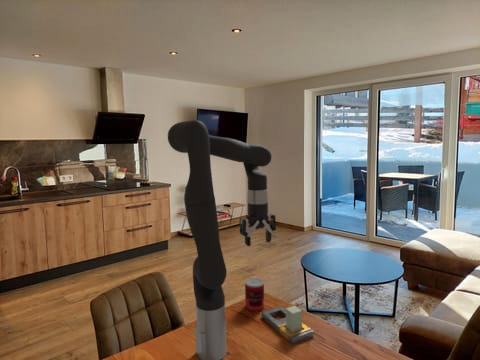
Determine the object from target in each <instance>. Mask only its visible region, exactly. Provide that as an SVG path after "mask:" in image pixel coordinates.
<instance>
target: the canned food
mask: <svg viewBox="0 0 480 360" xmlns="http://www.w3.org/2000/svg"><path fill="white" fill-rule="evenodd" d="M244 290H245V291H244V292H245V293H244V295H245V307H246V309H247V310H248V311H250V312H253V313H254V312H261V311H263V310H264V307H265V282H264V280H263V279H261V278H258V277H252V278H248V279H246V280H245V281H244Z"/></svg>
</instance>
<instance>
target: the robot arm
mask: <svg viewBox="0 0 480 360" xmlns="http://www.w3.org/2000/svg"><path fill="white" fill-rule="evenodd" d="M167 142H168V144H169V145H170V147H171V148H172V149H173V150H174V151H176V152H178V153H180V154H181V153H183V154H187V156H188V164H189V175H188V176H189V177H188V180H187V183H186V186H185V190H184V197H183V202H184V208H185V213H186V214H185V215H186V220H187V223H188V225H189V230H190V232H191V235H192V238H193V240H194V243H195V247H196V251H197V257H196V258H195V259H194V261H193V265H192V280H193V281H192V282H193V283H192V284H193V293H194V298H195V308H196V309H195V310H196V311H195V312H196V325H195V326H194V331H195V333H194V334H195V353H196V355H197V356H198V358H199V360H222V359H224V358H225V357H226V355H227V328H226V327H227V325H226V299H225V298H226V297H225V293H224V289H223V286H222V285H223V284H224V283H225V280H226V278H227V267H226V263H225V259H224V255H223V252H222V247H221V242H220V241H221V240H220V239H221V238H220V230H219V229H220V228H219V222H218V221H219V220H218V212H217V211H218V210H217V204H216V197H215V192H214V184H213V177H212V168H211V167H212V165H211V156H214V157H217V158H222V159H224V160H229V161H233V162H238V163H242V164H243V167H244V170H245V174H246V177H247V194H246V195H247V199H246V201H247V218H241V217H240V219H239V234H240V235H241V236H244V244H245V245H246V246H247V247H251V246H252V245H251V244H252V241H251V240H252V239H251V238H252V237H251V235H252V233H253V232H255V230H259V229H264V230H265V242H266V243H268V244H269V243H271V241H272V232H273V231H276V230H277V223H276V220H277V219H276V215H275V214H272V213H270V214H269V195H268V178H267V174H266V173H264V172H262V171H260V169H259V167H260V168H261V167H263V168H264V167H266V166H268V165H269V164H270V163H271V162H272V153H271V151H270V150H269V148H267V147H265V146H262V145H257V144H253V143H252V144H250V143H247V142H243V141H241V140H238V139H234V138H232V137H231V138H230V137H223V136H216V135H215V136H214V135H211V134H209V130H208V128H207V126H206V125H205V123H204V122H203V121H201V120H198V119H193V120H185V121H180V122H177V123H175V124H173V125H172V126H171V127H170V128H169V129H168V133H167ZM268 221H269V224H268V223H267V222H268Z"/></svg>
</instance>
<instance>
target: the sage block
mask: <svg viewBox="0 0 480 360" xmlns="http://www.w3.org/2000/svg"><path fill="white" fill-rule="evenodd" d="M285 310H286V329H287V330H289V331H290V332H291V333H295V332H298V331H301V330H302V323H303V311H302V310H301V309H300V308H299V307H297V306H296V305H292V306H289V307H287V308H285Z"/></svg>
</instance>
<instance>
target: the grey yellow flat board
mask: <svg viewBox="0 0 480 360" xmlns="http://www.w3.org/2000/svg"><path fill="white" fill-rule="evenodd" d="M279 316H282V317H283V318H280V319H276V318H275V317H279ZM261 318H262V319H264V320H265V321H266V322H267V323H268V324H269V325H270V326H272V328H273V329H275V330H276V331H277V332H278V333H279V334H280V335H281V336H282V337H283V338H285V339H286V340H287V341H288V342H289V343H291V345H294V344H297V343H300V342H302V341H305V340H309V339H311V338H314V330H313V329H312V328H311V327H308V325H306V324H305V323H303V322H302V330H301V331H298V332H295V333H291V332H290V331H289V330H287V329H286V308H285V307H284V308H283V306H278V307H277V306H276V307H275V308H271V309H268V310H265V311H262V312H261Z"/></svg>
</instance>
